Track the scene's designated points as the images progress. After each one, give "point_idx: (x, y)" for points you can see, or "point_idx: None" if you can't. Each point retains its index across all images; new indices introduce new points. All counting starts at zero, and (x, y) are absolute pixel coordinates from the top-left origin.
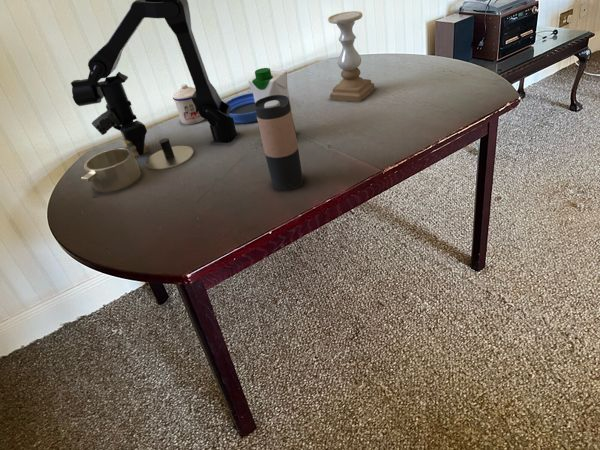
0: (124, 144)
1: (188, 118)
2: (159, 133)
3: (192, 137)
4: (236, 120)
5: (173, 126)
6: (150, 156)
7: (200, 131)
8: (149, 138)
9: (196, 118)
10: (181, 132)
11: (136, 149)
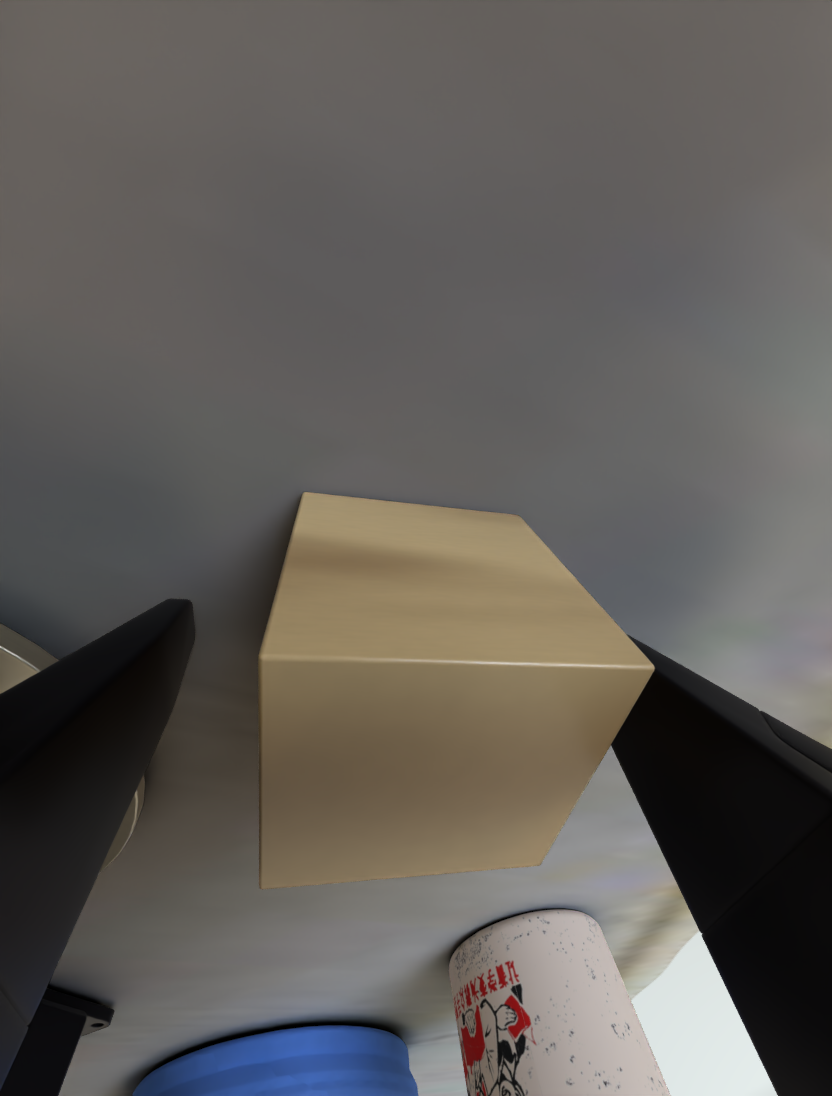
0: (518, 606)
1: (492, 987)
2: (595, 809)
3: (264, 913)
4: (201, 1071)
5: (581, 873)
6: (26, 669)
7: (312, 945)
8: (607, 750)
9: (459, 991)
10: (432, 886)
11: (49, 669)
